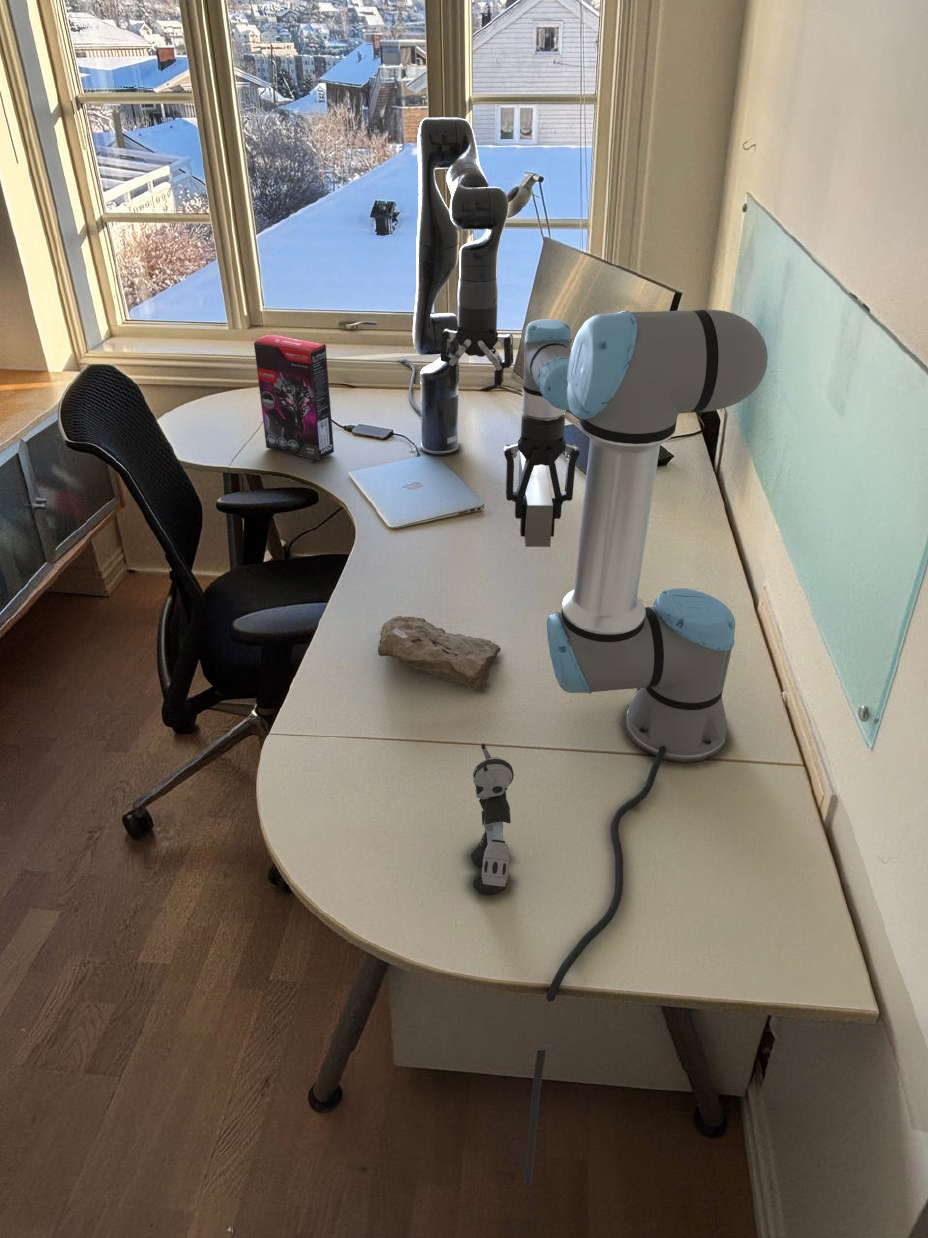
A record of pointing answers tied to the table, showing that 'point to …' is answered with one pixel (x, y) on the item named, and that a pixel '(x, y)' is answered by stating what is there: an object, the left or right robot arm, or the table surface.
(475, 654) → the stone
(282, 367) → the graphics card box
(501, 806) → the robot
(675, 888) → the table surface
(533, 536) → the bar
